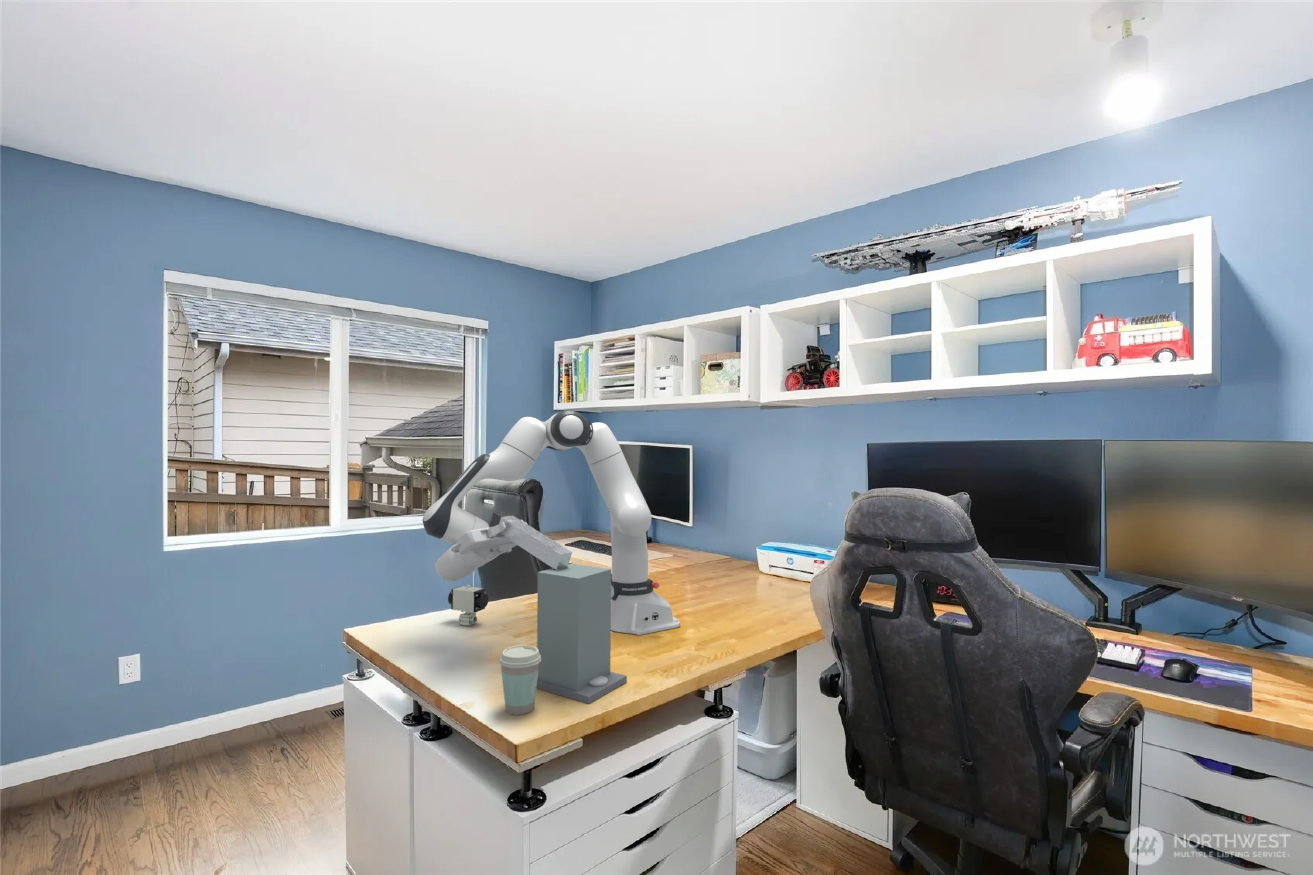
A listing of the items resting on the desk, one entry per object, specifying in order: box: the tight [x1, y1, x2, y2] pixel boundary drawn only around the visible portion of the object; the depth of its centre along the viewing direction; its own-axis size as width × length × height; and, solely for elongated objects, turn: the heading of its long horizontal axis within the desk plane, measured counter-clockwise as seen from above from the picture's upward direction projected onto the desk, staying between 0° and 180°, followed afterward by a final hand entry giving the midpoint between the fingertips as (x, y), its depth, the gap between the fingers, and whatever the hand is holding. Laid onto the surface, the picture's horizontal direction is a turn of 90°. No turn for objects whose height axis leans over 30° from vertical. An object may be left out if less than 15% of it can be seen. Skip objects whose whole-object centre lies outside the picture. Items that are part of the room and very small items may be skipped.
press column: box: [536, 563, 628, 705], centre depth 139 cm, size 16×14×26 cm
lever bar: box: [489, 510, 573, 570], centre depth 148 cm, size 24×4×4 cm, turn 58°
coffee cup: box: [498, 644, 541, 716], centre depth 126 cm, size 8×8×12 cm
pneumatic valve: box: [447, 584, 489, 627], centre depth 184 cm, size 6×12×12 cm, turn 70°
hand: (513, 523), depth 151 cm, fingers closed on lever bar, 4 cm apart
